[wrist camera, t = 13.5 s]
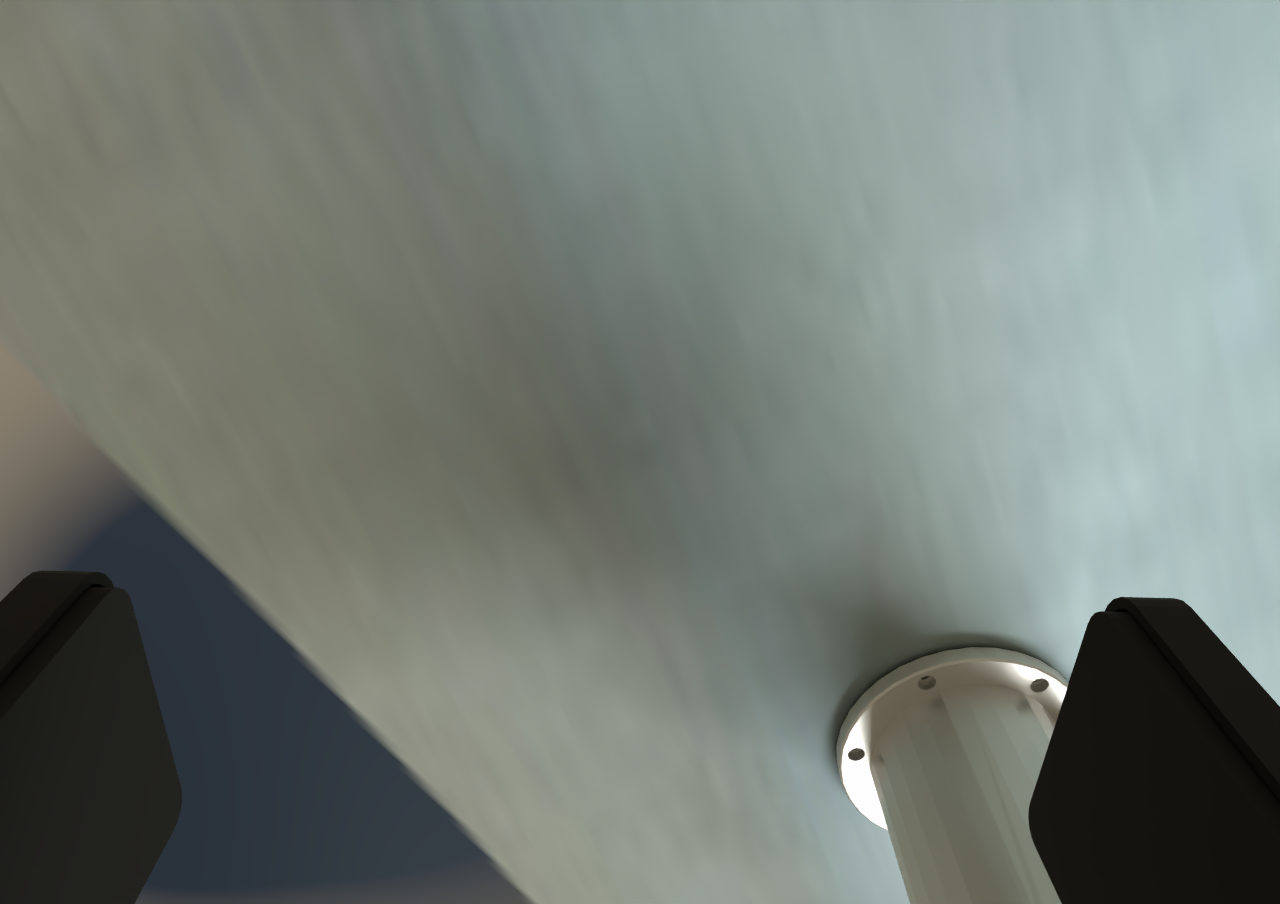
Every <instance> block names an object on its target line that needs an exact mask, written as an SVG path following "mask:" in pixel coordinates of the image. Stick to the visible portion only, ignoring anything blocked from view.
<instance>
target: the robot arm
mask: <svg viewBox="0 0 1280 904" xmlns="http://www.w3.org/2000/svg"><path fill="white" fill-rule="evenodd" d="M836 753H837V766H838V770H839V774H840V778H841V782H842V785H843V787H844V789H845V792H846V794H847V796H848V798H849V799H850V801H851V802H852V803H853V805H854V806H855V807H856V808H857V810H858V811H859V812H860V813H862V814H863V815H864V816H865V817H866V818H868V819H869V820H870V821H871V822H873V823H874V824H876V825H878V826H880V827H882V828H883V829H885V830H888V832H889V835H890V839H891V842H892V845H893V849H894V852H895V855H896V859H897V862H898V865H899V868H900V872H901V875H902V878H903V882H904V885H905V888H906V892H907V895H908V898H909V901H910V904H1280V707H1279V705H1278V704H1277V703H1276V702H1275V701H1274V700H1273V699H1272V698H1271V696H1270V695H1269V694H1268V693H1267V692H1266V691H1265V690H1264V689H1263V687H1262V686H1261V685H1260V684H1259V683H1258V682H1257V681H1256V680H1255V679H1254V677H1253V676H1252V675H1251V674H1250V673H1249V672H1248V671H1247V670H1246V668H1245V667H1244V666H1243V665H1242V664H1241V663H1240V662H1239V661H1238V660H1237V658H1236V657H1235V656H1234V655H1233V654H1232V653H1231V652H1230V651H1229V649H1228V648H1227V647H1226V646H1225V645H1224V644H1223V643H1222V642H1221V640H1220V639H1219V638H1218V637H1217V636H1216V635H1215V634H1214V633H1213V632H1212V630H1211V629H1210V628H1209V627H1208V626H1207V625H1206V624H1205V623H1204V621H1203V620H1202V619H1201V618H1200V617H1199V616H1198V615H1197V614H1196V613H1195V611H1194V610H1193V609H1192V608H1191V607H1190V606H1189V605H1187V604H1186V603H1185V602H1184V601H1182V600H1178V599H1175V598H1135V597H1120V598H1116V599H1113V600H1112V601H1111V602H1110V603H1109V604H1108V606H1107V608H1106V610H1105V612H1097V613H1095V614H1094V615H1093V616H1092V617H1091V618H1090V621H1089V623H1088V625H1087V628H1086V631H1085V634H1084V637H1083V640H1082V644H1081V647H1080V650H1079V653H1078V656H1077V659H1076V662H1075V665H1074V668H1073V671H1072V674H1071V677H1070V681H1069V683H1068V682H1067V681H1066V680H1065V679H1064V678H1063V677H1062V676H1061V675H1060V674H1059V673H1058V672H1057V671H1056V670H1055V669H1053V668H1051V667H1050V666H1048V665H1047V664H1045V663H1044V662H1042V661H1040V660H1038V659H1036V658H1033V657H1031V656H1028V655H1025V654H1023V653H1020V652H1016V651H1010V650H1005V649H999V648H982V647H969V648H961V649H954V650H946V651H942V652H939V653H935V654H932V655H928V656H924V657H921V658H919V659H917V660H914V661H912V662H910V663H907V664H905V665H903V666H901V667H899V668H897V669H895V670H894V671H892V672H891V673H889V674H887V675H886V676H884V677H883V678H881V679H880V680H878V681H877V682H876V683H875V684H874V685H873V686H871V687H870V688H869V689H868V690H867V691H866V692H865V693H864V694H862V696H861V697H860V698H859V699H858V701H857V702H856V703H855V704H854V706H853V707H852V708H851V709H850V711H849V713H848V715H847V717H846V719H845V721H844V723H843V724H842V726H841V729H840V733H839V737H838V741H837V745H836ZM181 804H182V791H181V785H180V782H179V778H178V775H177V771H176V767H175V763H174V759H173V756H172V752H171V748H170V744H169V741H168V737H167V733H166V729H165V725H164V722H163V718H162V714H161V711H160V707H159V703H158V699H157V696H156V692H155V688H154V684H153V681H152V677H151V673H150V669H149V666H148V662H147V658H146V655H145V651H144V647H143V643H142V640H141V636H140V632H139V628H138V624H137V621H136V617H135V613H134V609H133V606H132V602H131V600H130V597H129V595H128V593H127V592H126V591H125V590H124V589H121V588H114V586H113V584H112V581H111V580H110V579H109V578H108V577H107V576H106V575H105V574H102V573H99V572H76V571H75V572H74V571H38V572H33V573H31V574H30V575H28V576H27V577H26V578H24V579H23V580H22V581H21V582H20V583H19V584H18V585H17V586H16V587H15V588H14V589H13V590H12V591H11V592H10V593H9V594H8V595H7V596H6V597H5V598H4V599H3V600H2V601H1V602H0V904H134V903H135V901H136V899H137V898H138V896H139V894H140V892H141V890H142V888H143V887H144V885H145V883H146V881H147V879H148V877H149V875H150V874H151V872H152V870H153V868H154V866H155V864H156V862H157V860H158V859H159V857H160V855H161V853H162V851H163V849H164V847H165V846H166V844H167V842H168V840H169V838H170V836H171V834H172V833H173V831H174V828H175V826H176V824H177V821H178V818H179V814H180V810H181Z"/></svg>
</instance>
